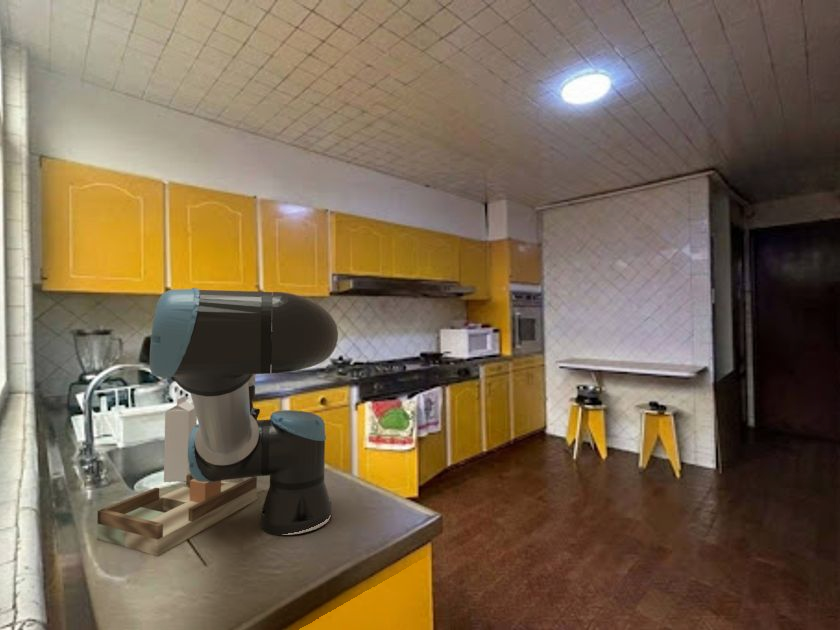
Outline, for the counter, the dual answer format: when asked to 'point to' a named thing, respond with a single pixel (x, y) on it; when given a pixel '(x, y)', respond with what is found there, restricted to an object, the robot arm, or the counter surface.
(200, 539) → the counter surface
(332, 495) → the counter surface
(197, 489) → the block
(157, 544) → the box
